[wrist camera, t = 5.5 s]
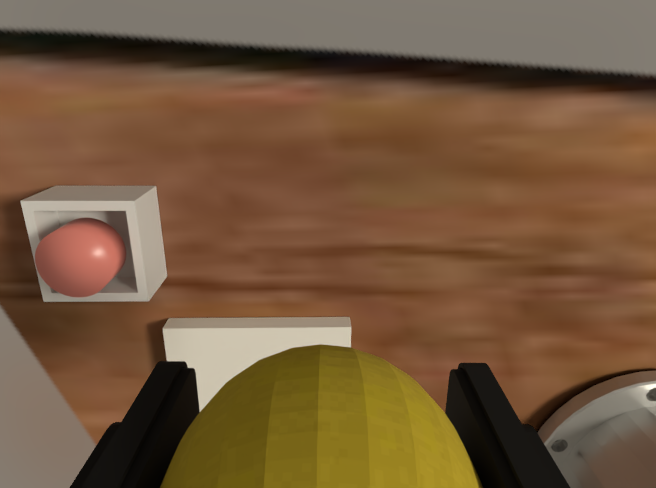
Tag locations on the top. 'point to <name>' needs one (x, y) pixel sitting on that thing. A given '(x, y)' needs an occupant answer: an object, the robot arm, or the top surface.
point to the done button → (80, 257)
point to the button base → (119, 212)
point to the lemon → (321, 428)
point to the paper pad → (243, 343)
